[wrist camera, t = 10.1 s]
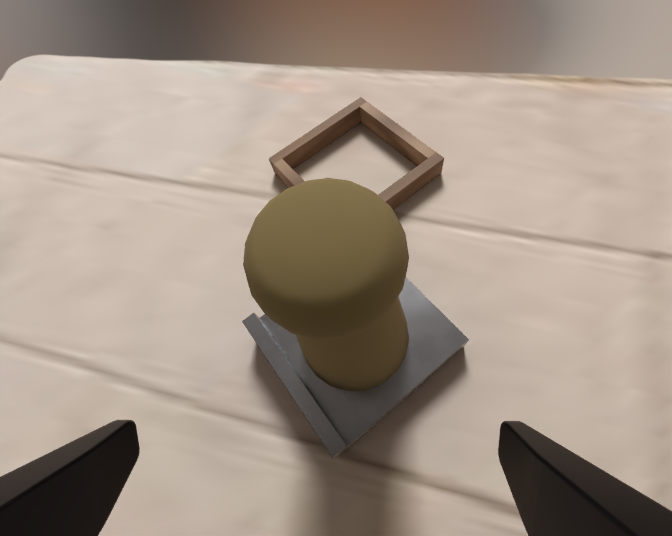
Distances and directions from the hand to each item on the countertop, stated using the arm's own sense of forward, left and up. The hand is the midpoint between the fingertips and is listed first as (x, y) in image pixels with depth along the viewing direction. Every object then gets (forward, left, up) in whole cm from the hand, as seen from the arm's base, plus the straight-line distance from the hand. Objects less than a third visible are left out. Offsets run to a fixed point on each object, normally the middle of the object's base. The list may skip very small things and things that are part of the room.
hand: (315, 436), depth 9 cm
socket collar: (+14, -11, -11) cm, 21 cm away
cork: (+4, -3, -10) cm, 11 cm away
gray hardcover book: (+4, -3, -11) cm, 12 cm away
